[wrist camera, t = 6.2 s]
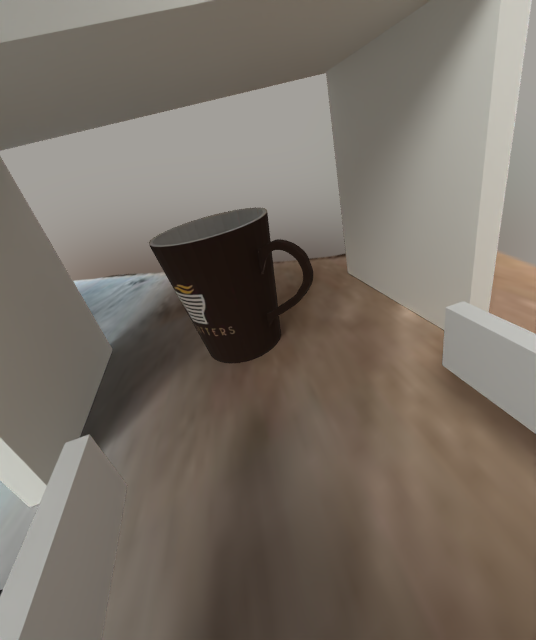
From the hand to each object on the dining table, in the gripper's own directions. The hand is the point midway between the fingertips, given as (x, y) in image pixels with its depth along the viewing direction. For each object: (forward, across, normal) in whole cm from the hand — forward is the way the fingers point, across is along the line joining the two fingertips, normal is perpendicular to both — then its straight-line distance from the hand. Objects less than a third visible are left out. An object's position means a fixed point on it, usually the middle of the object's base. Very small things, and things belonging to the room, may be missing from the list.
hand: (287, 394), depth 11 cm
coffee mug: (+13, 0, -6) cm, 14 cm away
